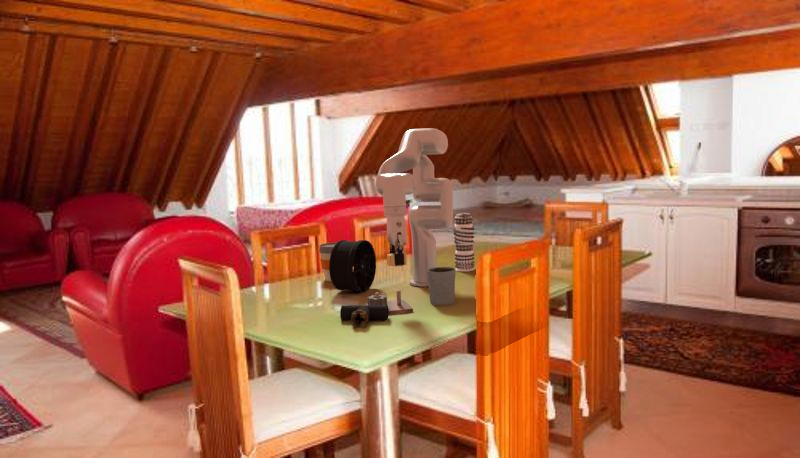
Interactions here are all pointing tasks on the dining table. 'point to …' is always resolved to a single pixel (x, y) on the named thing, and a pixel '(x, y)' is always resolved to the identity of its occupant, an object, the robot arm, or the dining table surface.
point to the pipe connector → (364, 313)
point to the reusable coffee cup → (326, 258)
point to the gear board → (390, 303)
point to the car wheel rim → (352, 265)
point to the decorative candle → (464, 242)
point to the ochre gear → (392, 261)
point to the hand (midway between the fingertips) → (397, 263)
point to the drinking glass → (441, 285)
